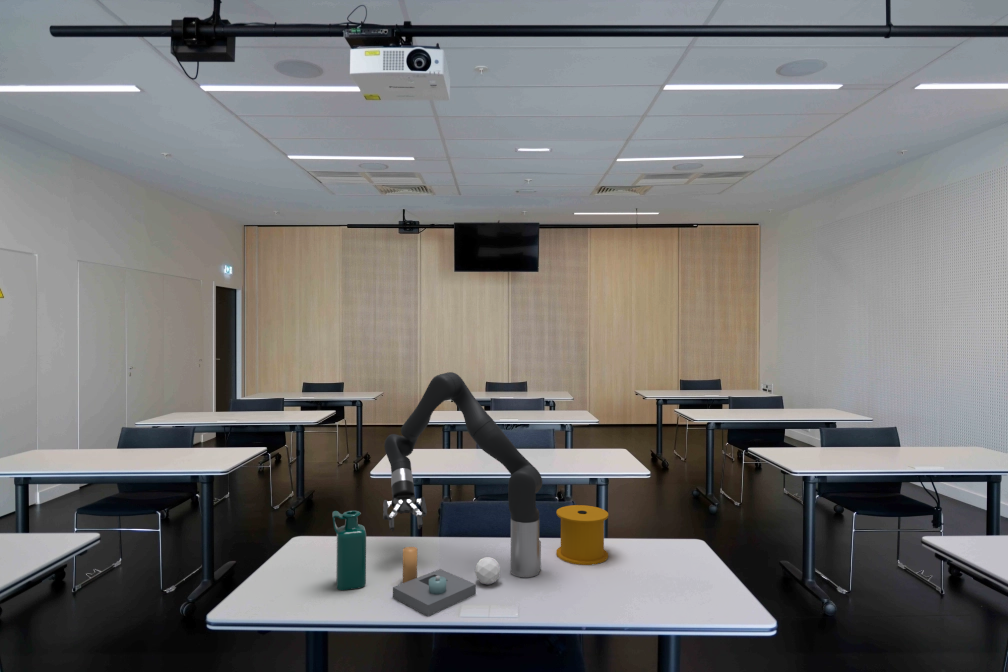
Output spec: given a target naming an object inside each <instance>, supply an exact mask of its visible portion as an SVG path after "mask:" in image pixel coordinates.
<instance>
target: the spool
mask: <svg viewBox="0 0 1008 672" xmlns="http://www.w3.org/2000/svg"><path fill="white" fill-rule="evenodd" d="M556 516H557V517H558V518H559V519H560V546H559V547H558V548H557V549H556V551H555V552H556V553H555V555H556V557H557V558H558V559H560V560H561V561H563V562H565V563H569V564H572V565H578V566H580V565H581V566H593V565H592V564H594V565H599V564H601V563H605V562H606V561H607V560H608V559H609V553H608V551H607V550H606V549H605V521H606V520H607V519H608V518H609V512H608V511H607V510H605V509H603V508H601V507H597V506H591V505H586V504H585V505H583V504H582V505H580V504H577V505H576V504H575V505H574V504H573V505H565V506H562V507H559V508H558V509H556ZM598 563H599V564H598Z"/></svg>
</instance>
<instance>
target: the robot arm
mask: <svg viewBox="0 0 1008 672" xmlns="http://www.w3.org/2000/svg"><path fill="white" fill-rule="evenodd" d="M449 400H451V401H452V402H453V403H454V404H455V405H456V406H457V408H458V409H459V410H460V412H461V414H462V415H463V419H464V423H465V427H466V429H467V433H468V434H469V436H470V437H471V438H472V440H473V441H474V442H475V443H476V445H478V447H479V448H480V449H481V450H482V451H483V452H484V453H486V454H488V456H490V457H492V458H493V459H495V460H496V461H498V462H499V463H500V464H501V465H503V466H504V467H505V469H506V470H507V472H509V474H510V477H509V478H508V484H507V485H508V486H507V489H508V490H507V491H508V492H507V494H508V495H507V496H508V499H507V502H508V509H509V513H510V568H509V569H510V574H512V575H513V576H515V577H517V578H533V577H535V576H537V575H538V574H539V573H540V571H541V570H542V562H541V560H542V559H541V558H542V554H541V553H542V541H541V540H540V510H539V509H538V507H537V503H536V501H537V500H536V498H537V497H536V494H537V493H539V491H540V490H541V488H542V486H543V477H542V475H541V473H540V472H539V470H538V469H537V468H536V467H535V466H534V465H533V464H532V463H531V462H530V461H529V460H527V459H526V457H525V456H524V455H523V454H522V453H521V452H520V451H519V450H518V448H516V447H515V445H514V444H513V442H512V441H511V440H510V439H509V437H508V436H506V434H505V433H504V431H503V430H502V429H501V427H500V426H499V425H498V424H497V423H496V422H495V420H494V419H493V418H492V417H491V416H490V415H489V413H488V412H487V411H486V410H485V408H483V406H482V405H481V404H480V402H478V399H476V398H475V396H474V395H473V393H472V391H470V389H469V387H468V386H467V384H466V382H465V381H464V380H463V379H462V377H461V376H460V375H459V374H458V373H455V372H453V371H451V372H449V371H448V372H444V373H439V374H437V375H436V376H434V377H433V378H432V379H431V380H430V382H429V383H428V385H427V387H426V390H425V391H424V393H423V395H422V397H421V399H420V400H419V402H418V404H417V406H416V407H415V409H414V410H413V412H412V413H411V414H409V415H410V416H409V417H408V418H407V420H406V421H404V423H403V424H402V426H401V429H400V433H401V435H400V434H396V433H392V434H389V435H388V436H387V437H386V439H385V440H384V450H385V451H384V452H385V455H386V457H387V459H388V462H389V465H390V469H391V471H390V472H391V477H390V479H391V480H390V482H391V484H390V487H391V495H392V496H391V497H392V500H389V501H388V499H384V500H383V502H382V503H383V505H382V507H383V509H382V519H383V520H384V521H388V525H389V530H390V531H391V532H394V531H395V518H396V516H397V515H398V513H399V514H401V515H402V514H410V513H411V514H412V515H413V516H415V517H416V522H417V524H416V525H417V529H418V530H420V529H421V528H422V527H423V517H426V516H427V513H428V510H427V505H426V504H427V503H426V499H425V498H426V497H424V496H422V497H420V498H416V495H415V484H414V477H413V473H412V472H413V471H412V463H411V460H410V458H409V457H408V456H410V455H411V454H412V453H413V451H414V449H415V445H416V443H417V440H418V439H419V437H420V435H421V434H422V433H423V432H424V431H425V429H427V427H428V425H429V422H430V420H431V419H432V418H431V417H432V414H433V413H434V411H436V408H438V407H439V406H440V405H441V404H442V403H444V402H447V401H449ZM417 504H418V505H419V506H420V508H421V511H420V509H419V508H418V507H417ZM390 506H392V508H393V509H392V510H391V513H388V509H389V508H390Z"/></svg>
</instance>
